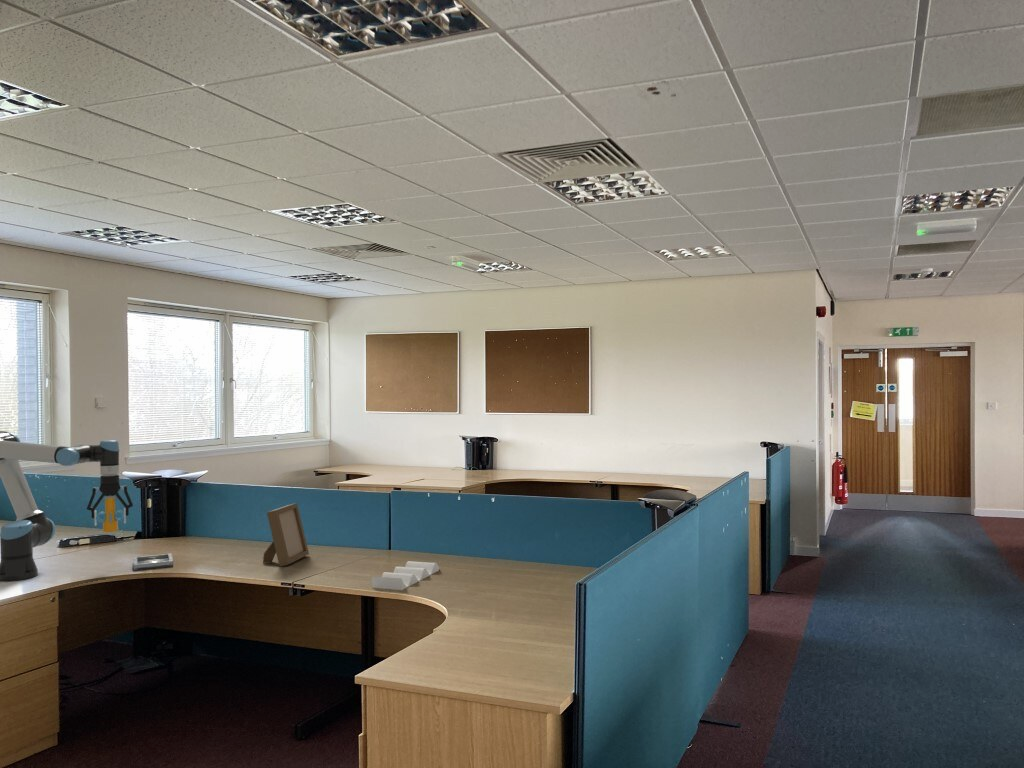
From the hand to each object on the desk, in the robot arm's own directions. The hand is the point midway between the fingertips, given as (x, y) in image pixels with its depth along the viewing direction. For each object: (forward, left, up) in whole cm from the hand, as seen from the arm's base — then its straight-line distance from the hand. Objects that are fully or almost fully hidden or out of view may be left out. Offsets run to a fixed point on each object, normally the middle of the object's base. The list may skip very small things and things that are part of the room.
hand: (110, 524), depth 350 cm
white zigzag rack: (+111, -84, -21) cm, 140 cm away
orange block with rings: (0, 0, -3) cm, 3 cm away
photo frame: (+71, -24, -20) cm, 78 cm away
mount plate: (+17, -1, -20) cm, 26 cm away
